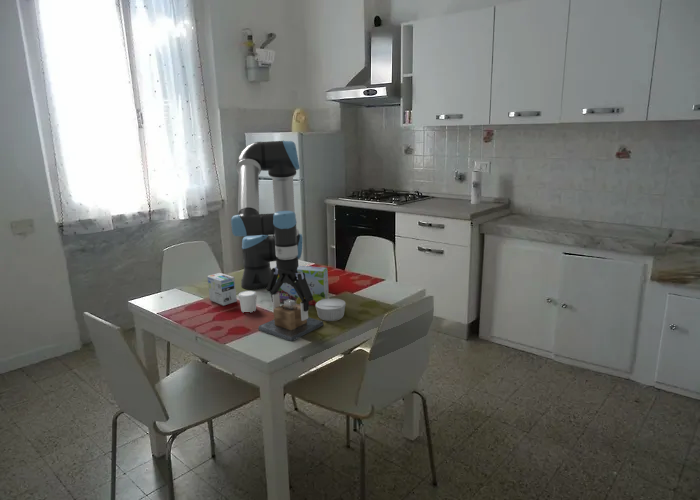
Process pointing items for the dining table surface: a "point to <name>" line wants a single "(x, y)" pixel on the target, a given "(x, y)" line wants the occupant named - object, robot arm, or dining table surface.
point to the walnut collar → (288, 317)
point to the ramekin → (330, 309)
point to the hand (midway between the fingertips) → (290, 315)
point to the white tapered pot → (247, 301)
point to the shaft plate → (287, 333)
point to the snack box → (315, 281)
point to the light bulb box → (222, 288)
